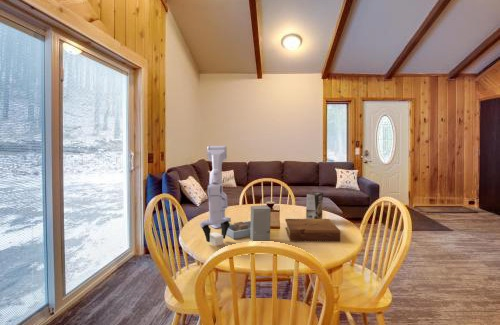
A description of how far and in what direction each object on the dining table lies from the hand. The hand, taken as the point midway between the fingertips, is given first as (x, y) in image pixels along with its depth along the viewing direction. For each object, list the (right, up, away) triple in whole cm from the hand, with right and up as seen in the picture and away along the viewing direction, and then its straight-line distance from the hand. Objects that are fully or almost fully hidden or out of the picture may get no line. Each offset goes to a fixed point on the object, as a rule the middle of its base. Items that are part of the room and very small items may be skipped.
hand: (215, 239), depth 126 cm
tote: (+12, 0, +14) cm, 19 cm away
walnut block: (+11, 0, +13) cm, 17 cm away
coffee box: (+52, +1, +33) cm, 62 cm away
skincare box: (+20, -1, +4) cm, 21 cm away
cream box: (0, -2, 0) cm, 2 cm away
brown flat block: (+45, -1, +11) cm, 47 cm away
